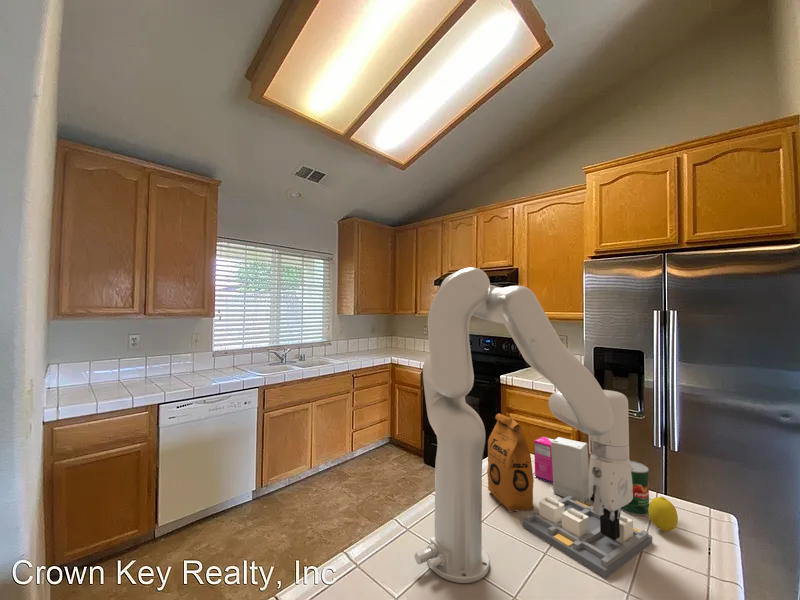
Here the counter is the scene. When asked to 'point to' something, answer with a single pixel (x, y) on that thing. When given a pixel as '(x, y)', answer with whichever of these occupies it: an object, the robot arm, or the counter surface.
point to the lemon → (663, 514)
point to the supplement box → (543, 459)
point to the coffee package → (510, 465)
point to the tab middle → (575, 522)
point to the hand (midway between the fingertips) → (609, 535)
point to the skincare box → (570, 468)
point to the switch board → (588, 540)
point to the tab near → (625, 529)
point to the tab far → (551, 510)
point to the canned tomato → (639, 490)
